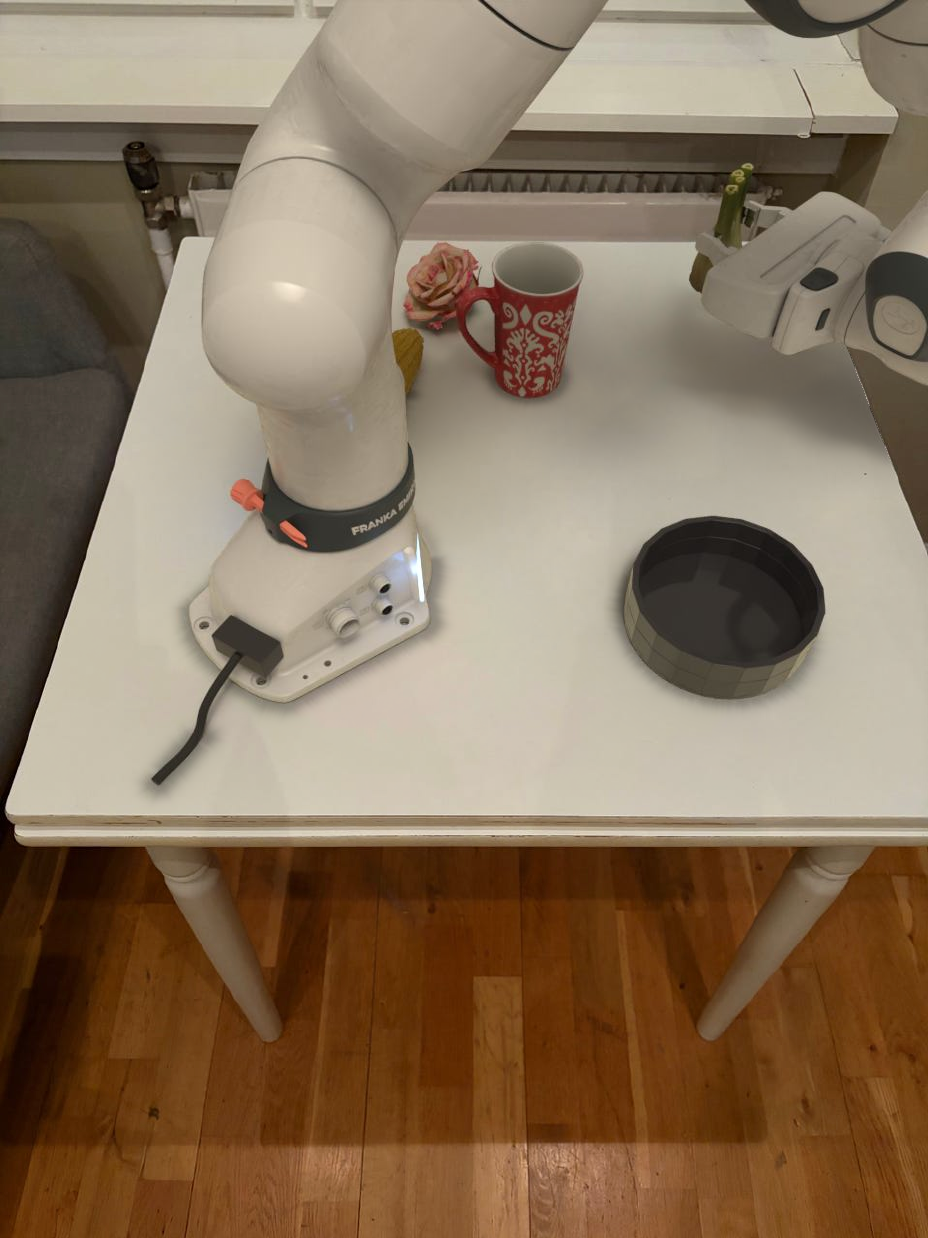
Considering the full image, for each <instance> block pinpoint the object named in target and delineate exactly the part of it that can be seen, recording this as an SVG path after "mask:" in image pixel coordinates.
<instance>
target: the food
mask: <svg viewBox="0 0 928 1238" xmlns="http://www.w3.org/2000/svg"><path fill="white" fill-rule="evenodd" d="M392 337H393V346H394V352H395V358H396V363H397V364H398V366H399V367H400V369H401V371H402V373H403V376H404V380H405V400H406V398H407V395H408V393H409V392H410V390H411V387H412V385H413V383H414V381H415V379H416V376H417V375H418V371H419V370H420V367H421V365H422V359H423V352H424V349H425V348H424V342H425V339H424V337H423V336H422V335H421V334H420V332H419V330H418V329H415V328H414V329H413V328H412V327H411V326H410V327H408V328H401V329H396V330H394V331H392Z"/></svg>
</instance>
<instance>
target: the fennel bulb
mask: <svg viewBox="0 0 928 1238" xmlns="http://www.w3.org/2000/svg"><path fill="white" fill-rule="evenodd" d="M754 169H755V166H754V165H753V164H752V163H749V162H746V163H744V164H741V165H740V168H739V169H737V170H734V171H732V172H731V173H730V174H729V176H728V183H727V185H726V186H725V187H724V189H723V192H722V197H721V201H720V207H719V212H718V217H717V221H716V223H715V224H714V226H713V227H712V229H713V231H716V232H719V233H721V234H722V238H721V242H722V243H723V244H724V245H725V247H726V248H728V247H730V246H733V247H735V248H737V249H740V248H741V247H742V246H743V241H742V231H741V229H742V226H741V225H742V224H740V220H741V214H742V210H743V206H744V204H745V203H746V198H747V194H748V190H749V187H750V183H751V180H752V176H753V173H754ZM712 267H714V266H713V264H712V263H711V261H710V259H709V257H707V256H705V255H703V254H702V253H700V252H698V251H697V254H696V256H695V258H694V260H693V263H692V266H691V272H689V273H690V274H689V278H688V281H689V284H690V286H691V287H692V289H693V290H694V291H695V292H696V293H699V294H702V290H703V285H704V282H705V278H706V275H707V272H708V271H709V270H710V269H711V268H712Z"/></svg>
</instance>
